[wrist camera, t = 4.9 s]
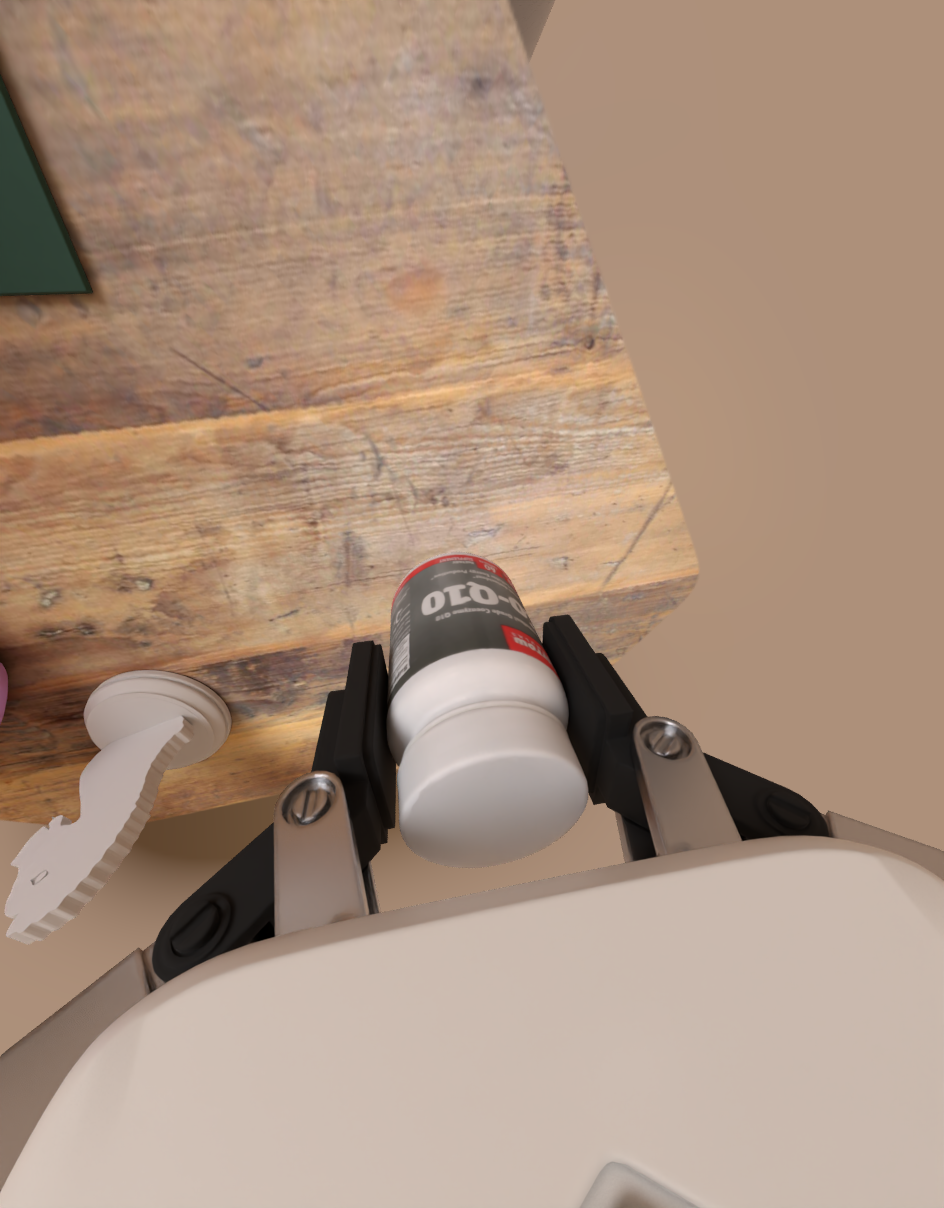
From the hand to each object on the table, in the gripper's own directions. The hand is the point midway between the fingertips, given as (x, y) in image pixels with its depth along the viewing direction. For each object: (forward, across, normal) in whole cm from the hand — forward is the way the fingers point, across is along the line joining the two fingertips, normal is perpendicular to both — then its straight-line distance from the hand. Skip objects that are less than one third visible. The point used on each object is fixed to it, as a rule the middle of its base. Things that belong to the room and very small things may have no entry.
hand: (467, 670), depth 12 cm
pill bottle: (+4, 0, 0) cm, 4 cm away
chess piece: (+17, +23, +15) cm, 33 cm away
